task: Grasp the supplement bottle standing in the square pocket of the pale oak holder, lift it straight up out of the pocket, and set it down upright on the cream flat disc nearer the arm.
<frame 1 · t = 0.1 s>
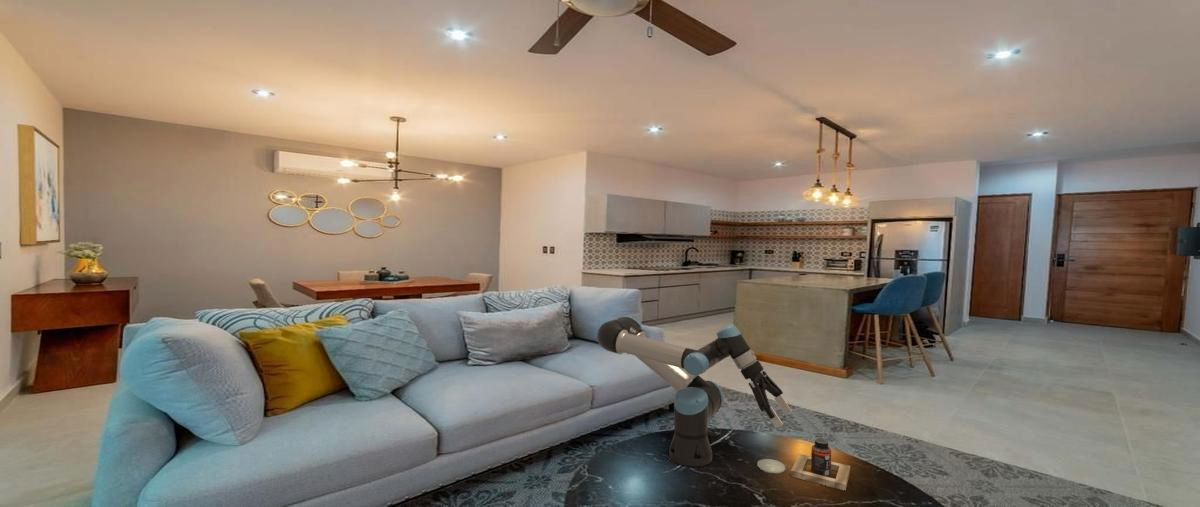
hand: (784, 419, 165), 15 cm above the table, tool tilted 35°, fingers open, 13 cm apart
supplement bottle: (820, 474, 158), resting in oak holder
oak holder: (820, 474, 158), on the table
cream flat disc: (771, 466, 163), on the table
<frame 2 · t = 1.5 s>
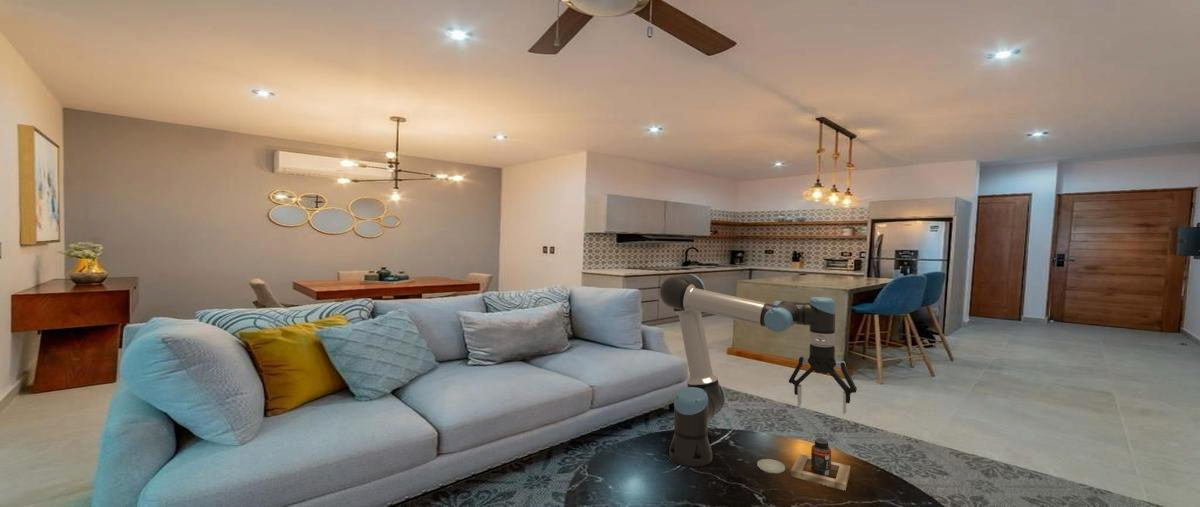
hand: (821, 408, 157), 22 cm above the table, tool pointing down, fingers open, 13 cm apart
nothing on the table moved.
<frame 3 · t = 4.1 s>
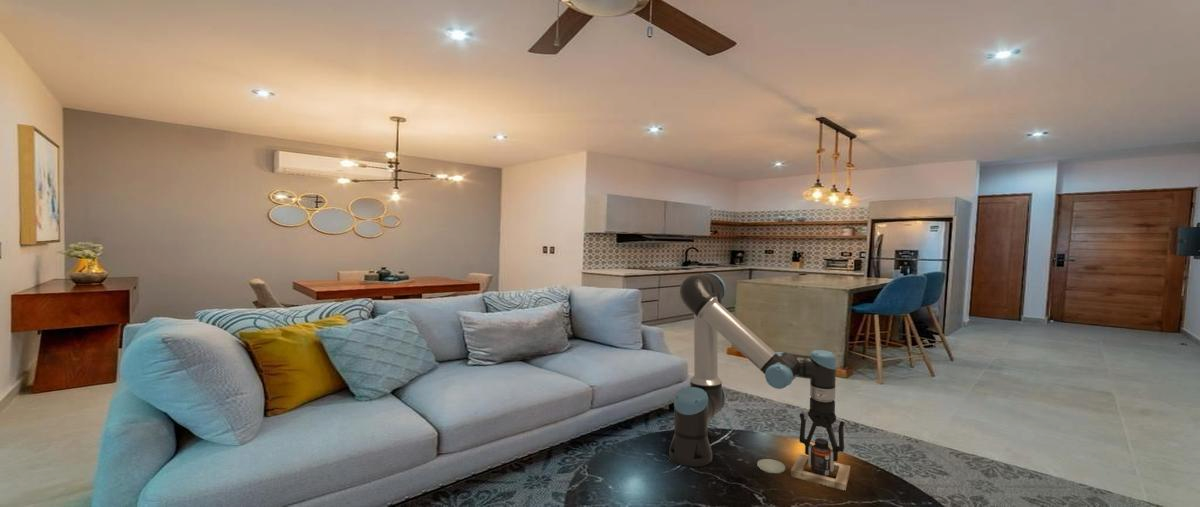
hand: (820, 467, 158), 2 cm above the table, tool pointing down, fingers closed on supplement bottle, 6 cm apart
supplement bottle: (820, 474, 158), resting in oak holder, touching gripper
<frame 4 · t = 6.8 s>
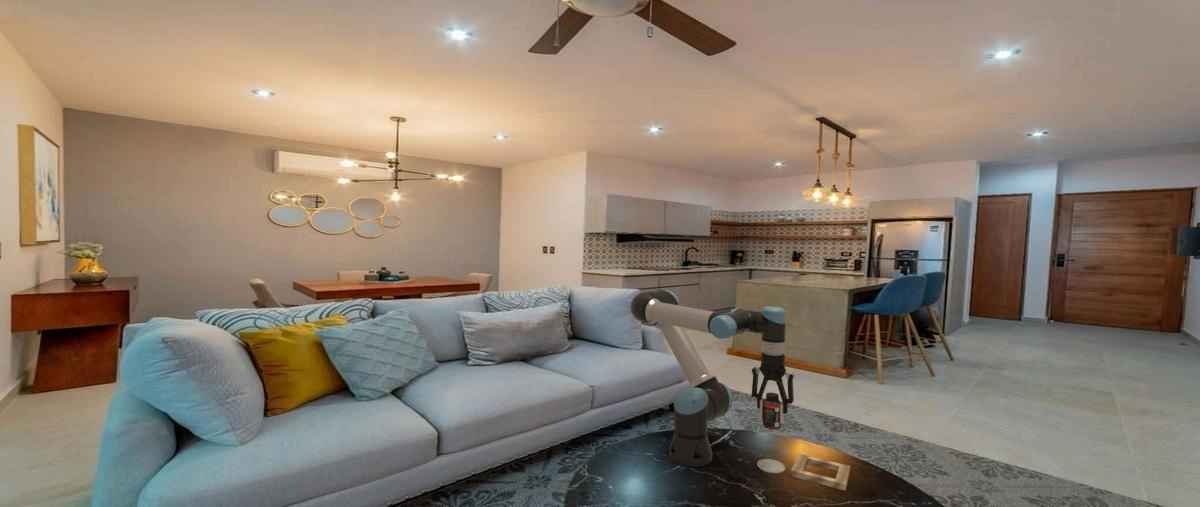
hand: (771, 420, 162), 16 cm above the table, tool pointing down, fingers closed on supplement bottle, 6 cm apart
supplement bottle: (771, 427, 162), point 14 cm above the table, touching gripper
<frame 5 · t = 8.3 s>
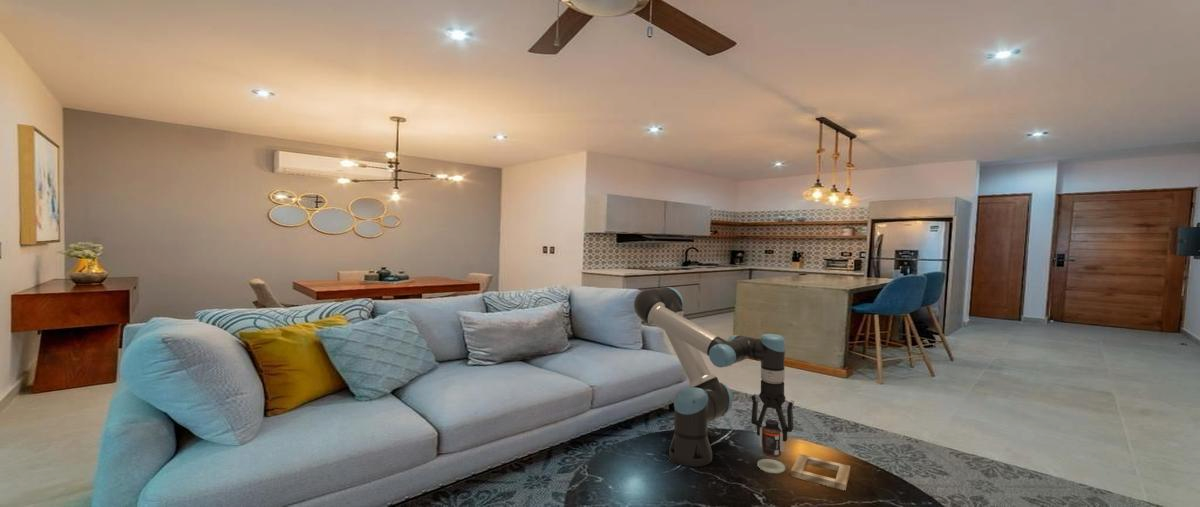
hand: (771, 447, 163), 7 cm above the table, tool pointing down, fingers closed on supplement bottle, 6 cm apart
supplement bottle: (771, 454, 163), point 4 cm above the table, touching gripper
when the fingers open (4 cm above the table, at t = 9.6 s): supplement bottle drops 1 cm, resting on cream flat disc.
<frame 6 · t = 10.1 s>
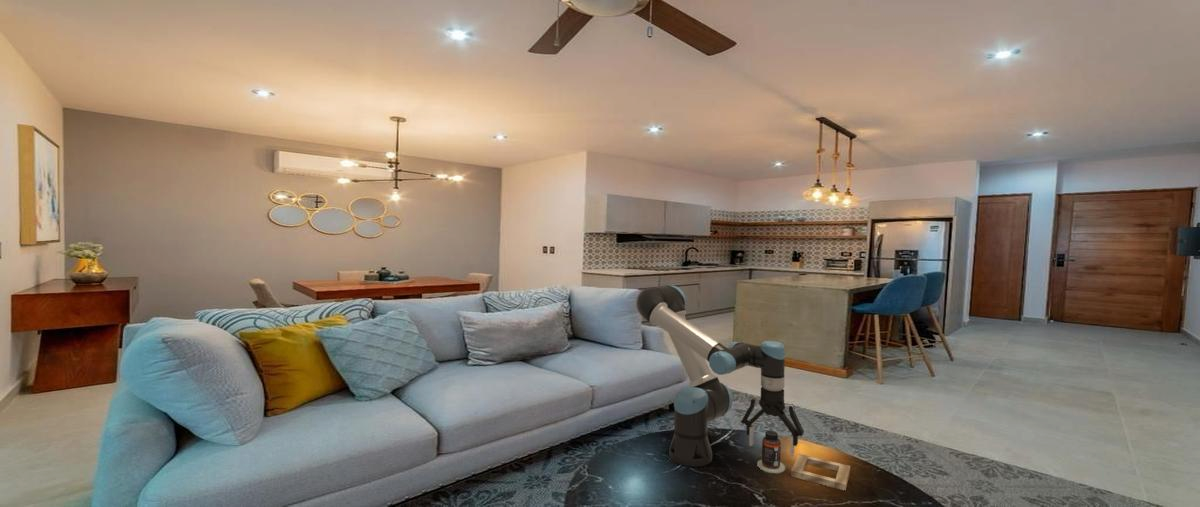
hand: (771, 449, 163), 6 cm above the table, tool pointing down, fingers open, 13 cm apart
supplement bottle: (771, 465, 163), resting on cream flat disc
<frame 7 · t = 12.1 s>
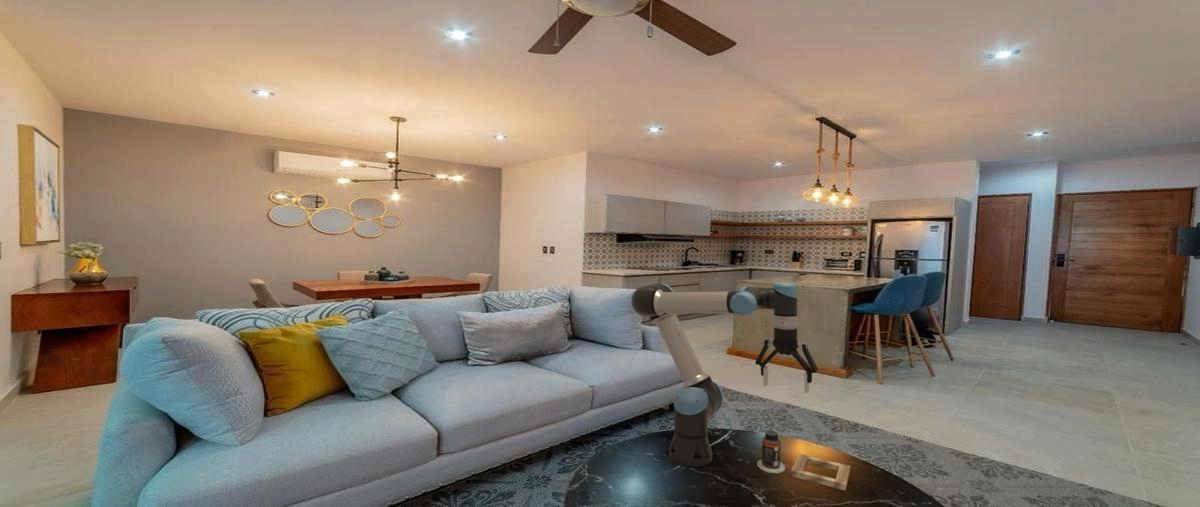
hand: (785, 388, 165), 26 cm above the table, tool pointing down, fingers open, 13 cm apart
nothing on the table moved.
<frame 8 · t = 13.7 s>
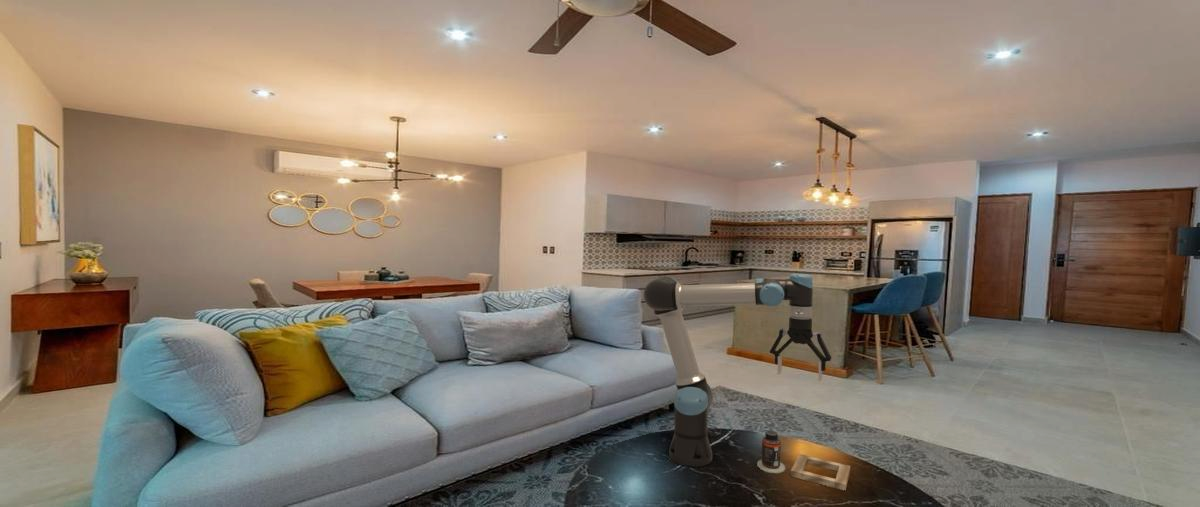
hand: (799, 376, 170), 29 cm above the table, tool pointing down, fingers open, 13 cm apart
nothing on the table moved.
at the end: supplement bottle 0.1 cm from the cream flat disc (horizontally); supplement bottle tilted 0°; supplement bottle resting on cream flat disc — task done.
